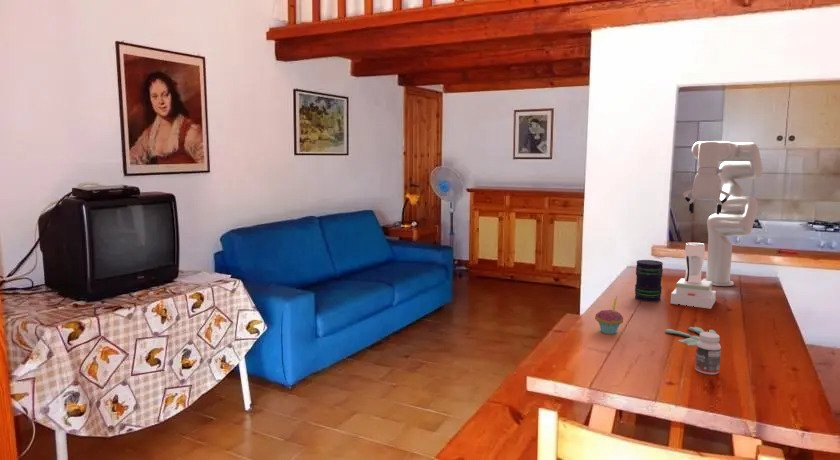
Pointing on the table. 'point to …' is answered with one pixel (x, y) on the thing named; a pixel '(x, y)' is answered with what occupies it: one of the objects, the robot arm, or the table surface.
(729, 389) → the table surface
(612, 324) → the cupcake
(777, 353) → the table surface
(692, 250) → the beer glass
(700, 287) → the step stand
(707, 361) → the pill bottle
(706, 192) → the robot arm
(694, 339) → the green flat branched shape
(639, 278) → the storage jar
